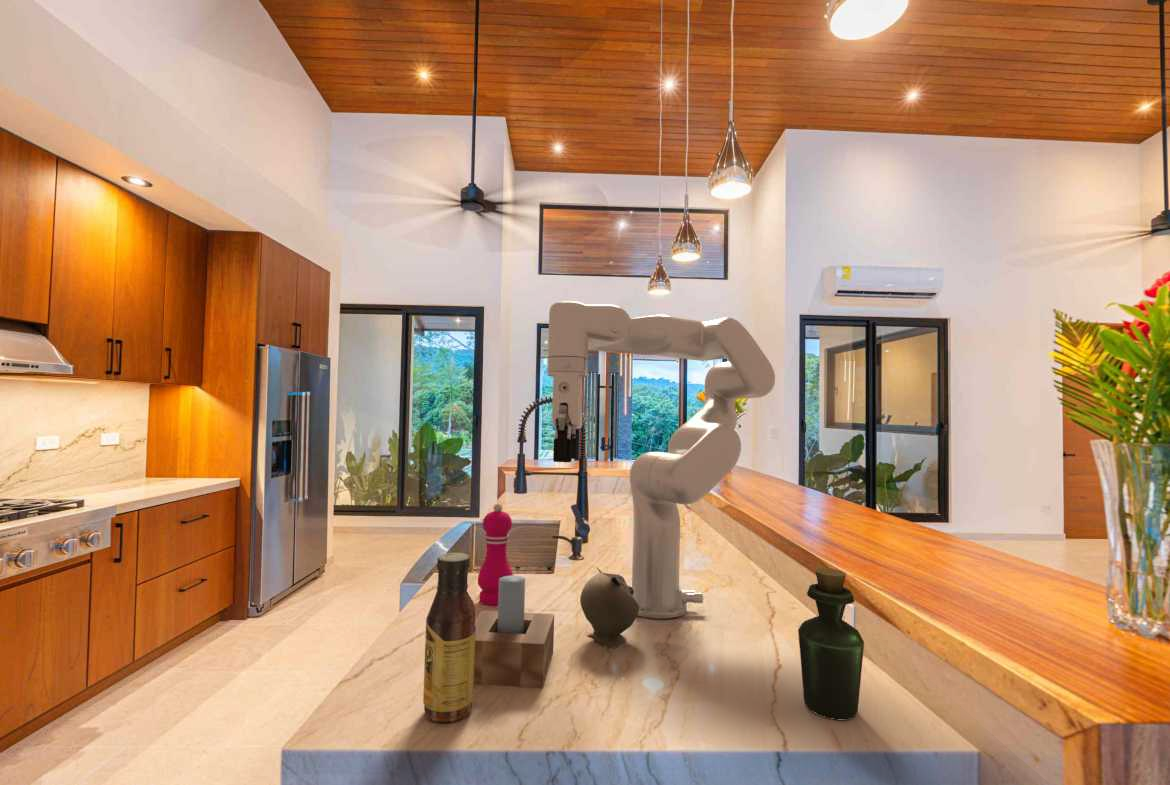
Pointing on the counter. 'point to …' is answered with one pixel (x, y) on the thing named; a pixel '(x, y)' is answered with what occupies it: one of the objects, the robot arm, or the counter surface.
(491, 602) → the pepper mill
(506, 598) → the peg
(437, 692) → the sauce bottle
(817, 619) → the potion bottle
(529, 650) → the socket block
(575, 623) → the counter surface
